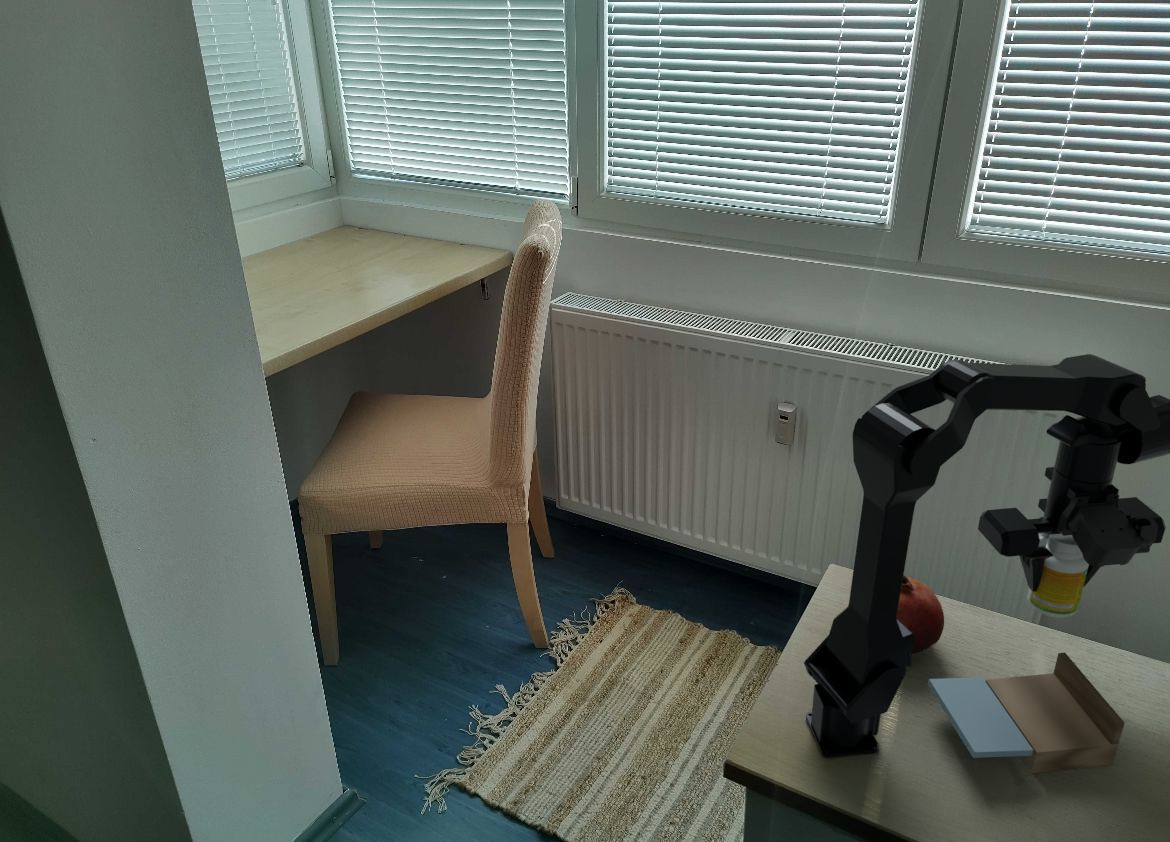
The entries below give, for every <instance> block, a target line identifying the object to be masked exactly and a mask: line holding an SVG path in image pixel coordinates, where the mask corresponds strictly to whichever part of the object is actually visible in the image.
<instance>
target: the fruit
mask: <svg viewBox="0 0 1170 842" xmlns="http://www.w3.org/2000/svg"><path fill="white" fill-rule="evenodd" d="M897 619H898V620H899V621H900V622H901V623H902V624H903V625H904V626H905V627H906V628H908V629H909V630H910V631H911V632H912V633H913V634H914V640H915V643H914V646H913V649H912V652H911V654H915V653H916V654H917V653H922V652H925V651H926V650H928V649H929V648H931V647H933V645H936V643H938V642H939V640H940V639H941V636H942V635H943V631H944V629H945V628H944V627H945V614H944V609H943V605H942V604H941V602H940V601H939V599H938V596H937V595H936V594H935V592H934V591H933V590H932V589H931V587H930V586H928V585H927V584H925V583H924V582H923V581H920V580H917V579H915V578H913V577H910V576H906V575H903V581H902V587H901V593H900V599H899V605H898V611H897Z"/></svg>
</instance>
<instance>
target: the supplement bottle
mask: <svg viewBox="0 0 1170 842" xmlns="http://www.w3.org/2000/svg"><path fill="white" fill-rule="evenodd" d="M1046 548H1047V549H1048V550H1049V551H1050V552H1051V553H1052V554H1053V556H1052V557H1050V558H1047V559H1045V562H1044V566H1043V571H1042V575H1041V580H1040V584H1039V586H1038V589H1037V591H1035V592H1033V591H1032V590H1031V589H1030V588H1029V587H1028V591H1027V597H1026V598H1027V602H1028V603H1029V605H1030V606H1031V607H1032V609H1034V610H1035V611H1037V612H1039V613H1040V614H1042V615H1045V616H1047V617H1050V618H1058V619H1062V618H1063V619H1065V618H1069V617H1072V616H1074V615H1075V614H1077V612H1078V609H1079V606H1080V602H1081V599H1082V595H1083V590H1084V587H1083V586H1084V582H1085V578H1086V574H1087V571H1088V567H1089V564H1088V563H1087V562H1086V561H1085V560H1084V558H1083V554H1082V552H1081V550H1080V549H1079V547H1078V545H1077V544H1076V542H1075V540H1074V539H1073V537H1072V535H1067V536H1055V537H1049V539H1048V540H1047V544H1046Z"/></svg>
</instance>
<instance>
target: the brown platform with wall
mask: <svg viewBox="0 0 1170 842" xmlns="http://www.w3.org/2000/svg"><path fill="white" fill-rule="evenodd" d="M985 682H986V683H987V685H988V686H989V688H990V689H991V690H992V692H993V693H994V695H995V696H996V698H997V699H998V700H999V702H1000V703H1001V705H1002V706H1003V708H1004V709H1005V710H1006V712H1007V713H1008V715H1009V716H1010V718H1011V719H1012V720H1013V722H1014V723H1015V725H1016V726H1017V727H1018V729H1019V730H1020V732H1021V733H1022V735H1023V736H1024V737H1025V739H1026V740H1027V742H1028V743H1029V745H1030V746H1031V747H1032V749H1033V752H1032V755H1031V756H1019V757H1020V758H1021V759H1022V761H1023V763H1024V764H1025V765H1026V767H1027V768H1028V770H1029V771H1030V773H1031V774H1033V773H1034V774H1036V773H1047V772H1054V771H1061V770H1062V771H1063V770H1072V769H1073V770H1074V769H1082V768H1090V767H1092V768H1093V767H1100V766H1109V765H1113V763H1114V760H1115V757H1116V753H1117V750H1118V746H1119V744H1120V740H1121V736H1122V733H1123V730H1124V727H1125V724H1126V722H1125V721H1124V720H1123V719H1122V718H1121V717H1120V715H1119V714H1118V713H1117V712H1116V711H1115V709H1114V708H1113V707H1112V706H1111V704H1109V703H1108V701H1107V700H1106V699H1105V697H1104V696H1103V695H1102V694H1101V693H1100V692H1099V690H1098V689H1097V688H1096V687H1095V686H1094V685H1093V683H1092V682H1091V681H1090V680H1089V679H1088V677H1087V676H1086V675H1085V674H1084V673H1083V672H1082V671H1081V669H1080V668H1079V666H1077V665H1076V663H1075V662H1074V661H1073V660H1072V659H1071V658H1070V656H1069V655H1068V654H1067V652H1058V654H1057V658H1056V661H1055V666H1054V670H1053V672H1049V673H1041V674H1031V675H1021V676H1011V677H1003V678H1002V677H1001V678H992V679H991V678H990V679H985Z"/></svg>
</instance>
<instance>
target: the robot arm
mask: <svg viewBox="0 0 1170 842" xmlns="http://www.w3.org/2000/svg"><path fill="white" fill-rule="evenodd" d="M1146 382H1147V379H1146V377H1145V376H1144V375H1142V374H1141V373H1138V372H1135V371H1133V370H1131V369H1128V368H1126V367H1123V366H1121V365H1119V364H1117V363H1115V362H1112V361H1110V360H1107V359H1104V358H1102V357H1100V356H1098V355H1095V354H1091V353H1090V354H1089V353H1087V354H1081V355H1076V356H1068V357H1065V358H1063V359H1062V360H1061V361H1060V362H1059V363H1057V364H1053V365H1037V364H1036V365H1035V364H1016V363H1013V364H1011V363H990V362H989V363H987V362H986V363H985V362H968V361H965V360H963V359H957V360H956V359H950V360H947V361H945V362H944V363H942V364H941V365H940V366H938V367H937V368H936V369H935V370H934V371H933V372H931V373H930V374H929V375H927V376H923V377H921V378H918V379H916V380H913V381H910V382H907V383H905V384H903V385H900V386H897V387H895V388H894V389H892V390H890V392H888V393H887V394H886V395H885V396H883V397H882V398H881V399H880V400H879V401H877V402H875V404H874V405H872V406H871V407H870V408H869V409H868V410H867V411H866V412H865V413H863V415H862V416H860V417H858V418H857V420H856V422H855V424H854V427H853V430H852V455H853V456H852V457H853V458H852V459H853V465H854V467H855V469H856V472H857V475H858V477H859V480H860V484H861V488H862V490H863V491H862V492H863V495H862V496H863V498H862V504H861V513H860V520H859V526H858V527H859V528H858V534H857V539H856V540H857V543H856V548H855V555H854V564H853V572H852V578H851V585H850V593H849V601H848V606H847V607H846V608H844V609H843V610H842V611H841V612H839V614H837V615H836V616H834V618H833V620H832V623H831V626H830V629H829V633H828V635H827V636H826V637H825V638H824V639H823V640H822V642H821V643H820V644H819V645H818V646H817V647H816V648H815V649H814V651H812V652H811V653H810V655H809V656H808V657H807V658H806V659H805V660H804V662H803V664H804V667H805V670H806V672H807V675H808V676H809V677H812V679H813V680H814V681H815V682H816V684H814V686H813V695H812V696H813V697H812V708H811V711H807V712H806V714H805V719H806V721H807V724H808V725H809V728H810V730H811V733H812V735H813V737H814V740H815V742H816V744H817V746H818V749H819V752H820V755H821V756H822V757H824V758H835V757H836V758H837V757H844V756H845V757H846V756H855V755H865V754H874V753H878V752H879V751H880V745H879V743H878V741H877V738H876V737H875V736H878V735H879V731H880V722H881V718H882V717H881V716H882V715H883V714H886V713H887V712H888V711H889V709H890V707H891V704H892V702H893V700H894V698H895V696H896V695H897V693H898V690H899V688H900V686H901V684H902V682H903V680H904V678H905V675H906V673H907V667H908V668H910V667H912V666H913V664H912V661H911V658H912V657H911V655H912V653H911V652H912V649H913V646H914V643H915V640H914V634H913V633H912V632H911V631H910V630H909V629H908V628H906V627H905V626H904V625H903V624H902V623H901V622H900V621H899V620H898V619H897V611H898V605H899V599H900V593H901V587H902V581H903V575H904V574H905V568H906V562H907V556H908V550H909V549H908V548H909V545H910V537H911V533H912V531H911V530H912V526H913V520H914V515H915V508H916V504H917V502H918V500H919V499H920V498H922V497H923V496H924V495H925V494H926V493H927V492H928V491H929V490H930V489H931V488H933V486H935V484H936V481H937V478H938V475H939V471H940V469H941V467H942V466H943V465H944V464H945V463H946V462H948V460H950V459H951V458H953V457H954V456H955V455H956V454H958V452H960V451H961V449H963V447H965V445H966V443H967V441H968V438H969V435H970V433H971V430H972V428H973V425H974V423H975V421H976V419H977V418H979V416H982V414H984V413H985V412H986V411H987V410H989V411H990V410H993V411H997V410H999V411H1001V410H1002V411H1043V412H1044V411H1052V412H1053V411H1054V412H1055V411H1056V412H1057V411H1058V412H1062V411H1063V412H1068V413H1071V414H1074V415H1078V416H1079V417H1076V418H1074V417H1072V416H1071V415H1068V414H1066V415H1065V416H1064V417H1063V418H1061V420H1059V421H1057V422H1054V423H1053V424H1051V425H1050V426H1049V427H1048V428H1047V429H1046V434H1047V435H1049V436H1050V437H1052V438H1054V439H1056V440H1058V441H1059V442H1058V447H1057V448H1058V449H1057V452H1056V457H1055V462H1054V466H1051V467H1050V466H1049V467H1045V472H1044V476H1045V477H1046V478H1047V479H1048V480H1049V481H1050V485H1049V489H1048V493H1047V498H1046V497H1045V498H1039V501H1038V504H1037V507H1038V509H1040V510H1041V511H1042V512H1043V516H1040V517H1039V518H1030V519H1029V518H1027V517H1026V516H1025V515H1024V514H1023V513H1022V512H1021V511H1020V510H1019V508H1017V507H1008V508H1007V507H1006V508H997V509H996V508H994V509H987V510H985V511H983V512H982V513H981V514H980V517H979V520H978V527H977V530H978V531H979V532H980V534H981V535H982V536H983V537H984V538H985V539H986V540H987V542H989V544H990V546H992V547H993V548H994V549H995V550H996V551H997V552H998V553H999V555H1001V556H1004V557H1008V558H1009V557H1019V560H1020V564H1021V566H1022V570H1023V573H1024V576H1025V579H1026V583H1027V586H1028V589H1029V588H1030V589H1031V590H1032V591H1033V592H1035V591H1037V589H1038V586H1039V584H1040V580H1041V575H1042V571H1043V566H1044V562H1045V559H1047V558H1050V557H1052V556H1053V554H1052V553H1051V552H1050V551H1049V550H1048V549H1047V548H1046V544H1047V540H1048V539H1049V537H1055V536H1067V535H1072V537H1073V539H1074V540H1075V542H1076V544H1077V545H1078V547H1079V549H1080V550H1081V552H1082V554H1083V558H1084V560H1085V561H1086V562H1087V563H1088V564H1089V567H1088V571H1087V574H1086V578H1085V582H1084V586H1083V588H1085V587H1086V585H1087V584H1089V582H1090V581H1091V579H1093V577H1094V576H1095V575H1096V574H1097V572H1098V571H1099V570H1100V569H1101V568H1103V567H1106V566H1113V565H1114V566H1115V565H1120V566H1123V565H1124V566H1125V565H1128V564H1129V563H1130V562H1131V560H1132V559H1133V557H1134V556H1135V555H1136V554H1147V553H1149V552H1150V551H1151V546H1152V545H1153V544H1161V543H1162V542H1163V539H1164V535H1165V532H1166V528H1167V527H1166V524H1165V520H1164V519H1163V517H1161V515H1159V514H1158V513H1157V512H1156V511H1154V510H1153V509H1152V508H1151V507H1150V506H1148V505H1147V504H1145V503H1144V502H1143V501H1142V500H1140V499H1139V498H1138V497H1137V496H1134V497H1122V498H1120V495H1119V491H1120V489H1118V488H1117V487H1116V486H1115V485H1113V479H1114V476H1115V472H1116V466H1117V464H1123V465H1131V464H1132V465H1133V464H1136V463H1140V462H1144V461H1147V460H1152V459H1155V458H1160V457H1163V456H1167V455H1170V398H1167V397H1166V396H1163V395H1160V394H1158V395H1157V394H1156V395H1153V396H1149V393H1148V391H1147V390H1146V388H1147V387H1146V386H1147V384H1146ZM947 400H948V401H949V402H950V403H952V404H953V405H952V408H951V410H950V413H949V414H948V418H947V419H946V421H945V422H944V423H942V424H941V425H940V426H939V427H938V428H936V429H935V428H934V427H931V426H930V425H929V424H927V423H925V422H923V421H922V420H921V419H919V418H917V417H915V416H913V415H912V414H914V413H917V412H920V411H922V410H925V409H929V408H931V407H934V406H937V405H939V404H941V403H943V402H945V401H947ZM904 576H905V575H904Z"/></svg>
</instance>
